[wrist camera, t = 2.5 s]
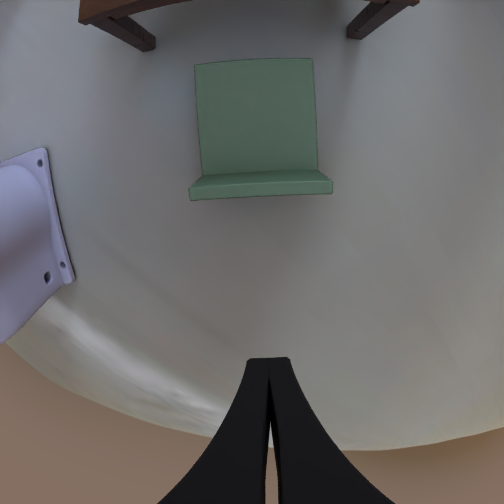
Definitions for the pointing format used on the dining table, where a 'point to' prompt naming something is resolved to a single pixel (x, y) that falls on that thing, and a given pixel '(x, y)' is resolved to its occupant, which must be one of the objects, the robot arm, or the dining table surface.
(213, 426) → the dining table surface
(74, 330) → the dining table surface
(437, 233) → the dining table surface
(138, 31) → the desk
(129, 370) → the dining table surface
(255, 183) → the chair
